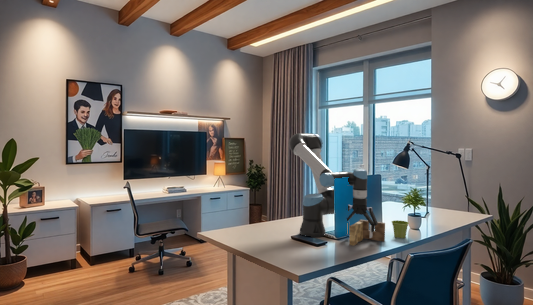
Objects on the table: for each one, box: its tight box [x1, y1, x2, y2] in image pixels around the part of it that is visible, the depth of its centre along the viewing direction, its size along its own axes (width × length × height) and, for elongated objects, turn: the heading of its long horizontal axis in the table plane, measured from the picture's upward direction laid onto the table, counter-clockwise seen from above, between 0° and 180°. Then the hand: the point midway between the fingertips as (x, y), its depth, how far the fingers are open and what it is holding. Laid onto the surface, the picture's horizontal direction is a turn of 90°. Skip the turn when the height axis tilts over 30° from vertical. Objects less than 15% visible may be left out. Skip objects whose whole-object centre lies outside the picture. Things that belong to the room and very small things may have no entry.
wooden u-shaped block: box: [358, 219, 386, 242], centre depth 200 cm, size 14×2×10 cm, turn 56°
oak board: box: [348, 220, 364, 246], centre depth 194 cm, size 14×3×10 cm, turn 146°
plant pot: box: [391, 220, 410, 239], centre depth 205 cm, size 9×9×9 cm
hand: (359, 235), depth 198 cm, fingers open, 12 cm apart
